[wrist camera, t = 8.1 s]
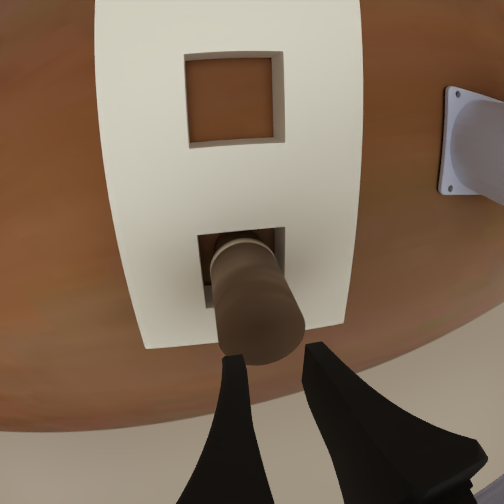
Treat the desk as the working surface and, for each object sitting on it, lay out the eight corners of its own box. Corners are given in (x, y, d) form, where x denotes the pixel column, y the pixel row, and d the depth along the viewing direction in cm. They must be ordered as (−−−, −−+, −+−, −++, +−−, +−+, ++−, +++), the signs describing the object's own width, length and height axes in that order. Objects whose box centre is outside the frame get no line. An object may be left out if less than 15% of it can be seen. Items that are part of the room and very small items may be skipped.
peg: (267, 219, 19) (310, 292, 12) (266, 272, 21) (301, 359, 14) (206, 222, 19) (214, 302, 12) (209, 276, 20) (220, 369, 13)
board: (339, 6, 14) (358, -4, 12) (330, 302, 23) (343, 323, 21) (107, 12, 12) (95, 0, 10) (148, 324, 21) (145, 348, 19)
